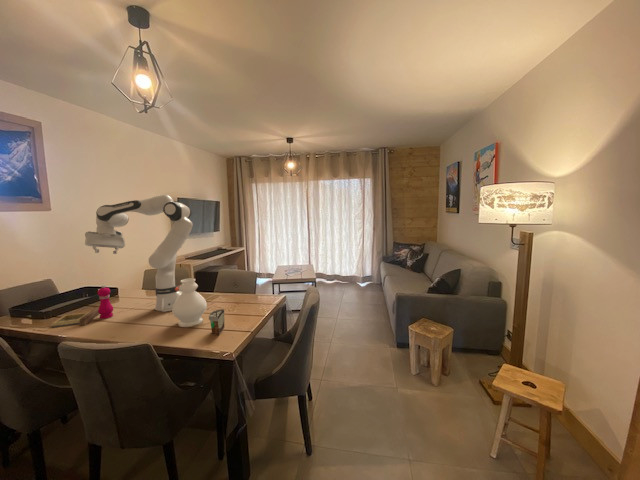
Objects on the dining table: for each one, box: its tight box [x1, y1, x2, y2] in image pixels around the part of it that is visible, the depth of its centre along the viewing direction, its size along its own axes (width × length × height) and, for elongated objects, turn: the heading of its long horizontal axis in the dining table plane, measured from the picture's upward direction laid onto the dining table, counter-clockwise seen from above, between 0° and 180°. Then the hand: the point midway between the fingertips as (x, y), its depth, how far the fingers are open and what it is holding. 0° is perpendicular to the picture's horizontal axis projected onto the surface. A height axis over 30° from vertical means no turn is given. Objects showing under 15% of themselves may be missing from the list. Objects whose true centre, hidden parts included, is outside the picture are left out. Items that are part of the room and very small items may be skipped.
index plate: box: [51, 311, 90, 328], centre depth 154 cm, size 13×13×2 cm
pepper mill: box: [97, 284, 114, 320], centre depth 158 cm, size 7×7×20 cm
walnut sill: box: [79, 306, 100, 327], centre depth 157 cm, size 2×20×4 cm, turn 20°
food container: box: [208, 308, 225, 336], centre depth 137 cm, size 12×6×10 cm, turn 5°
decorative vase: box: [171, 277, 208, 328], centre depth 148 cm, size 18×18×25 cm
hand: (106, 253), depth 164 cm, fingers open, 8 cm apart
